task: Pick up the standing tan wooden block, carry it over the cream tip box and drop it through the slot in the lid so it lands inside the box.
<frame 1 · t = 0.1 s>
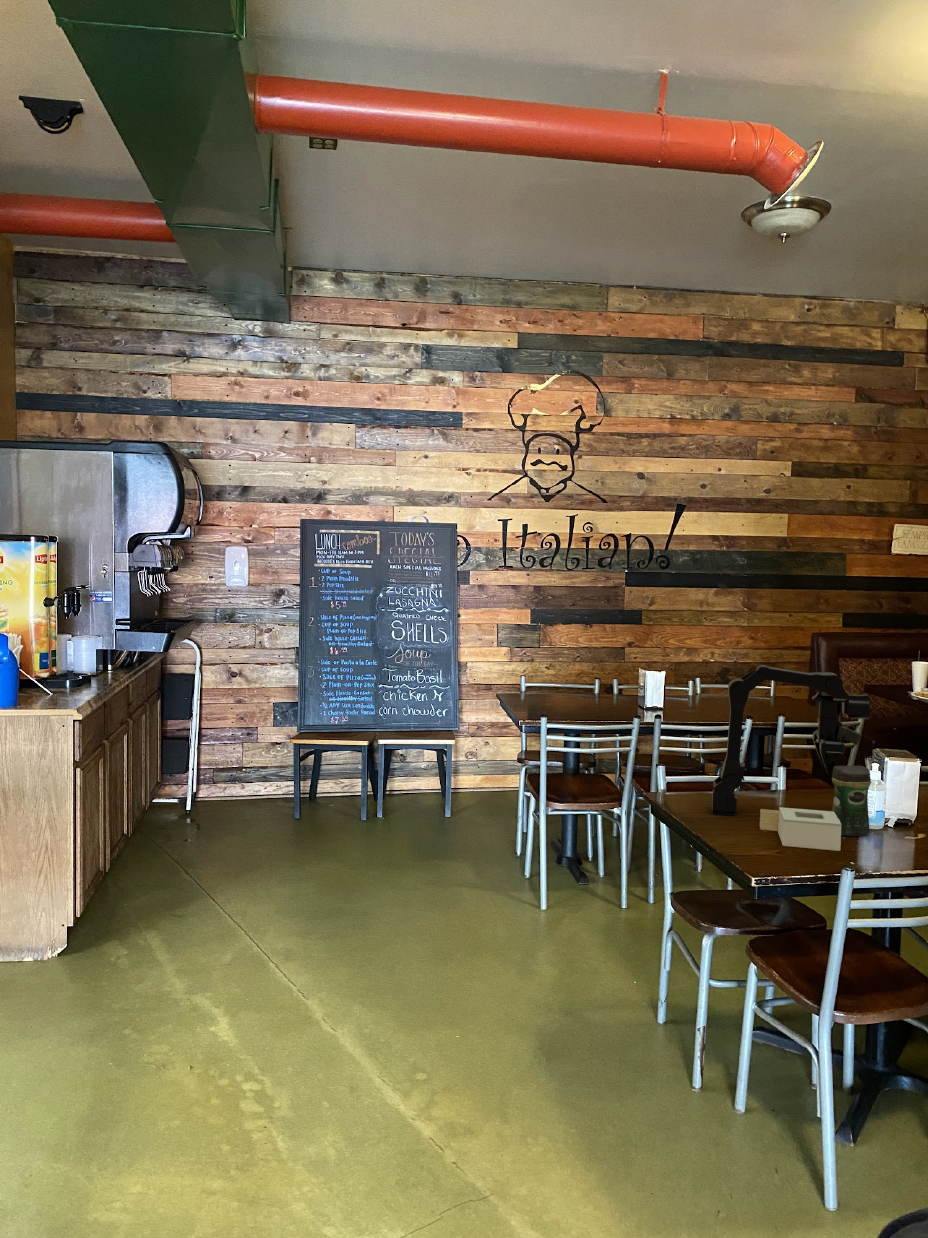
hand: (827, 770, 250), 15 cm above the table, fingers open, 9 cm apart
coffee jar: (848, 833, 240), on the table
tip box: (808, 841, 232), on the table
tan wooden block: (769, 829, 243), on the table
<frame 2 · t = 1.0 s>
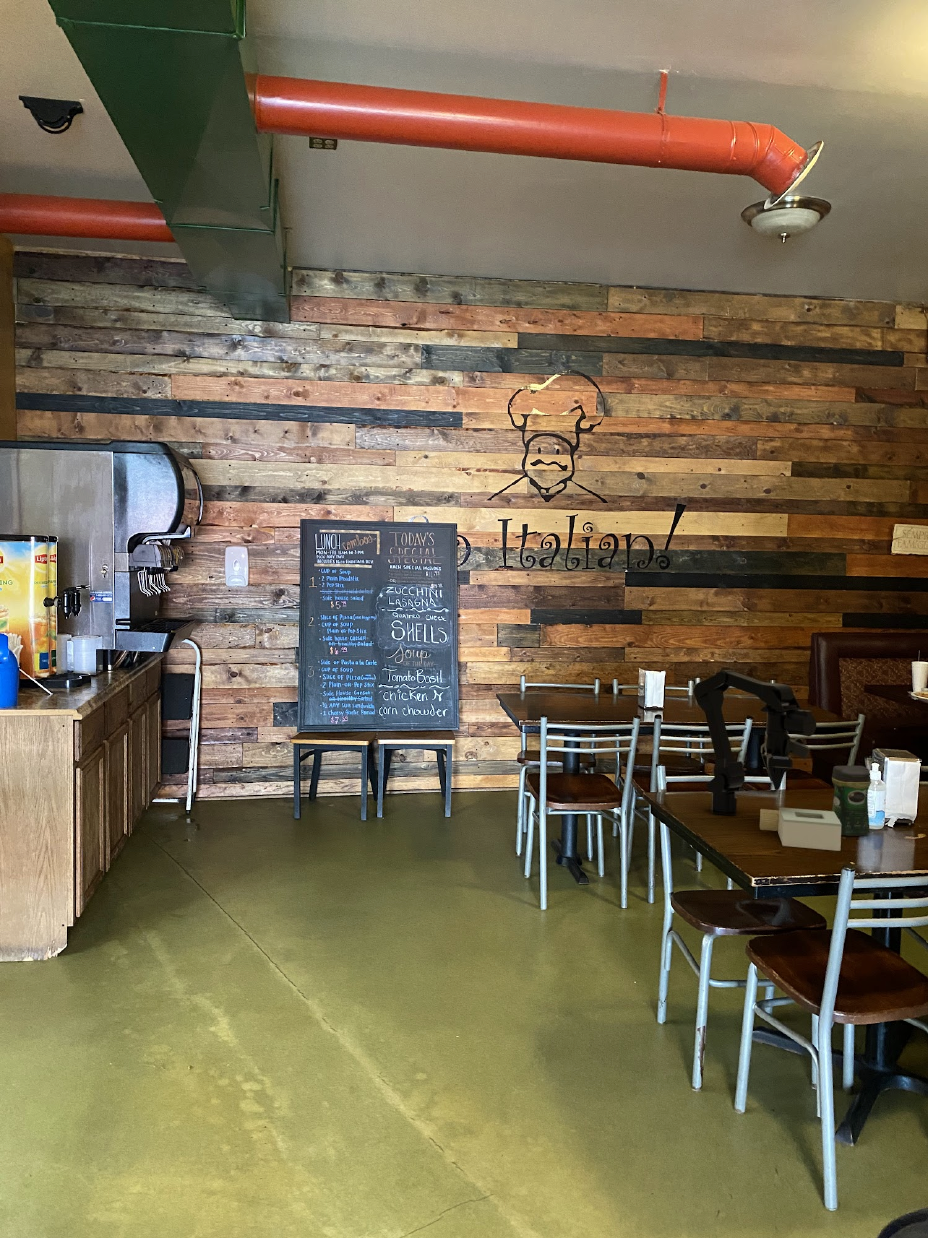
hand: (774, 785, 243), 12 cm above the table, fingers open, 9 cm apart
nothing on the table moved.
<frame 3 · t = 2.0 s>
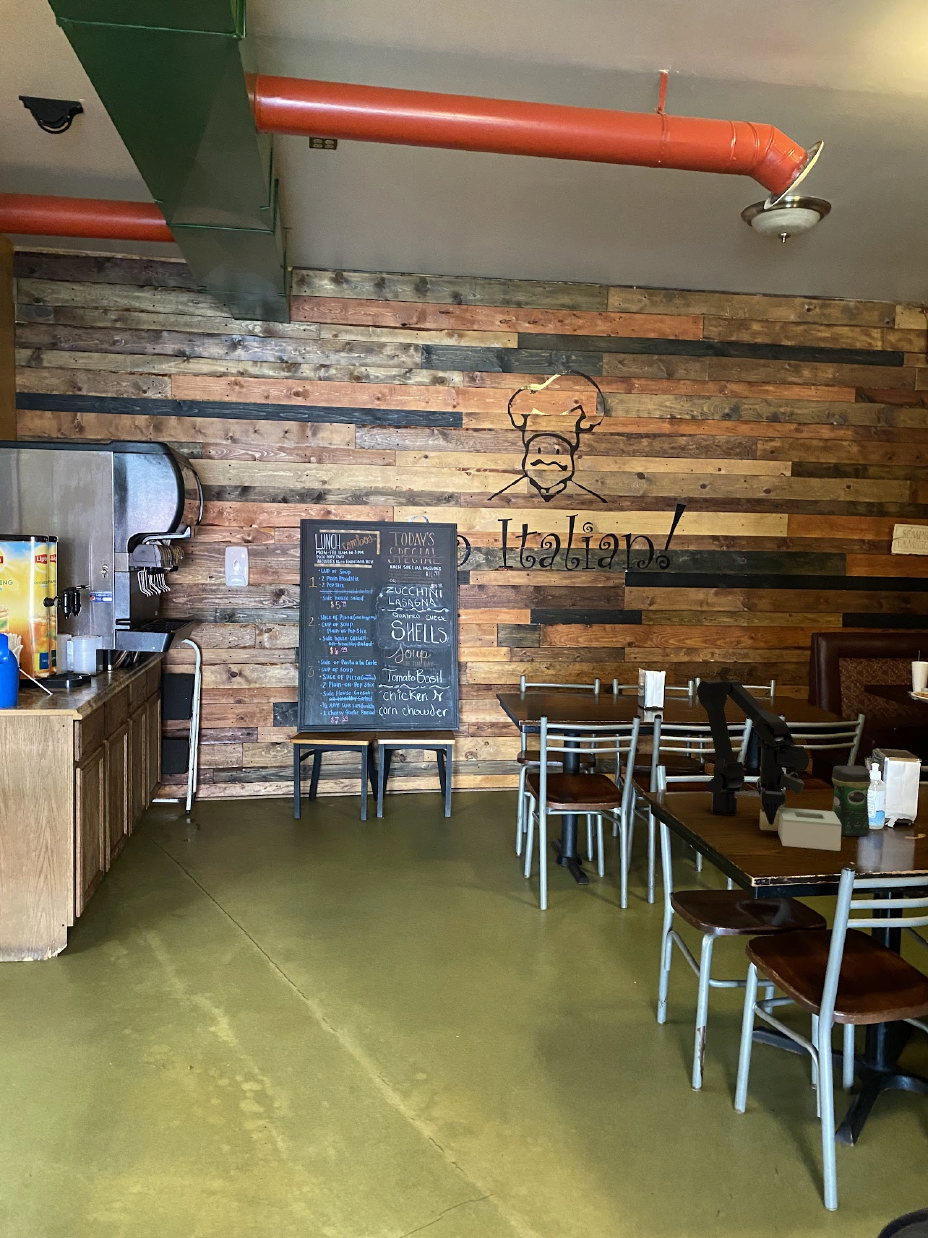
hand: (769, 820, 242), 2 cm above the table, fingers open, 8 cm apart
nothing on the table moved.
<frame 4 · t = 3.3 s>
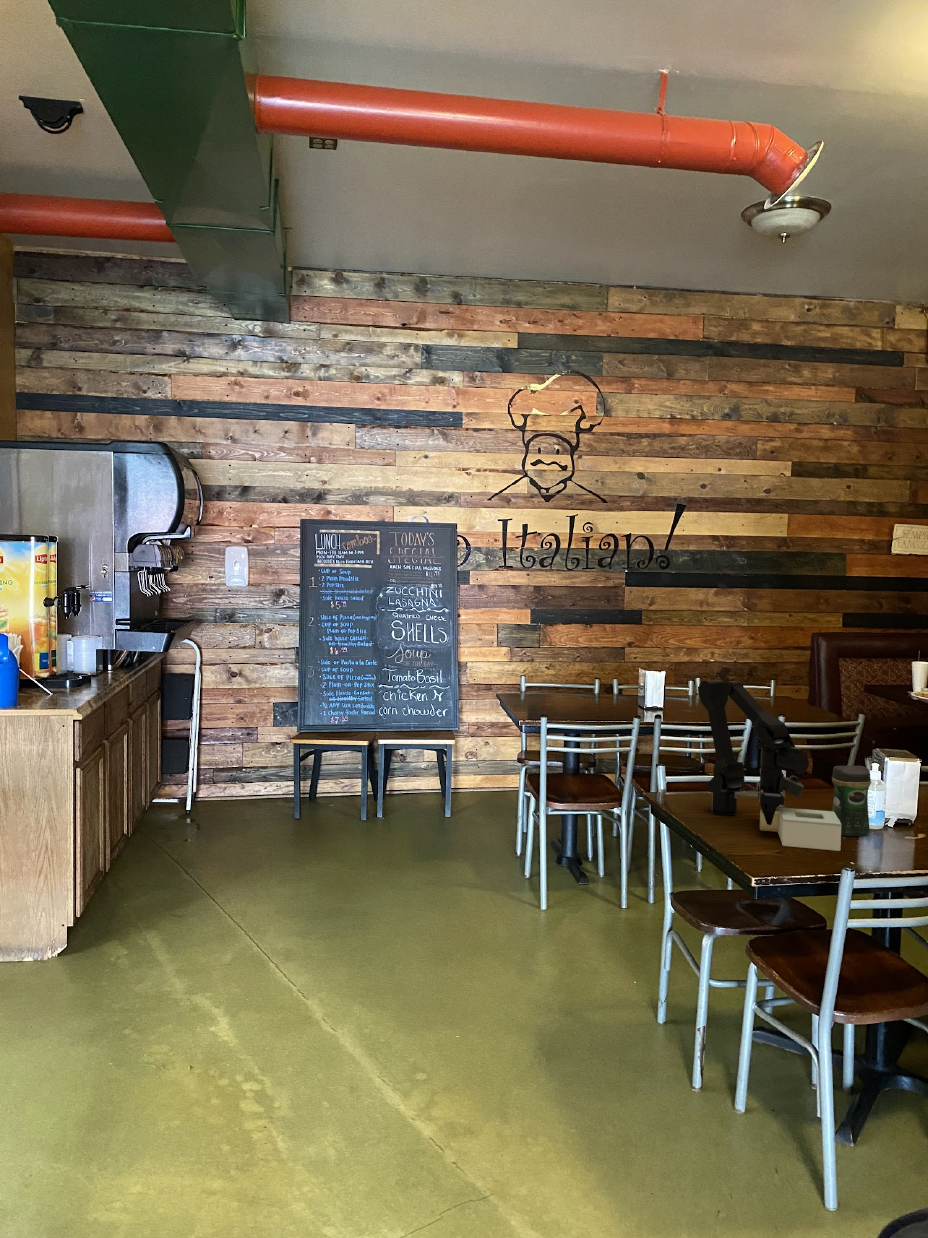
hand: (768, 823, 242), 2 cm above the table, fingers open, 3 cm apart
tan wooden block: (769, 829, 241), on the table, touching gripper
everything else where it was.
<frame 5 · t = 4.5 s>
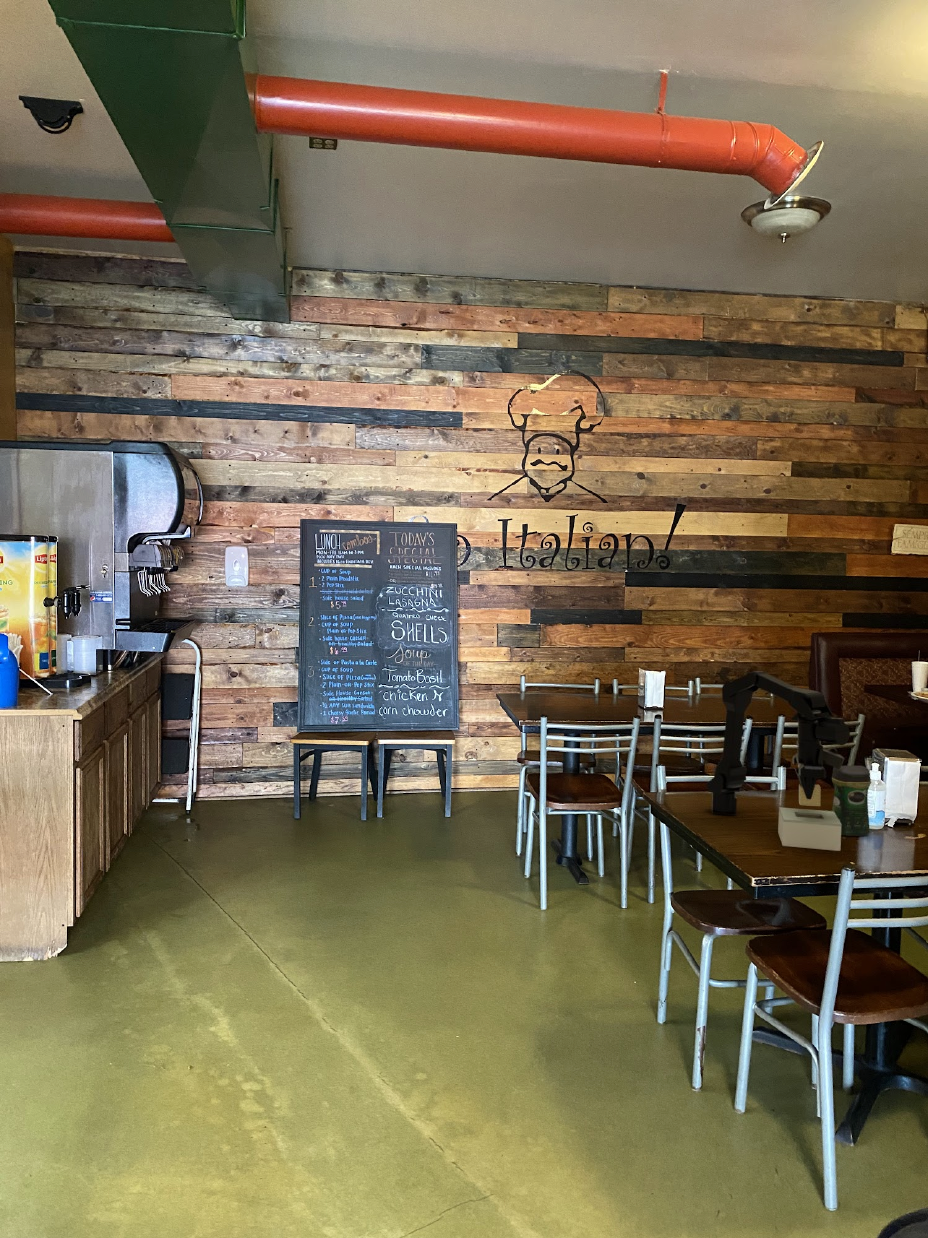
hand: (808, 797, 231), 12 cm above the table, fingers closed on tan wooden block, 3 cm apart
tan wooden block: (809, 804, 232), point 10 cm above the table, touching gripper
everything else where it was.
when the fingers open (9 cm above the table, at t = 5.1 s): tan wooden block drops 6 cm and tips over, resting on tip box.
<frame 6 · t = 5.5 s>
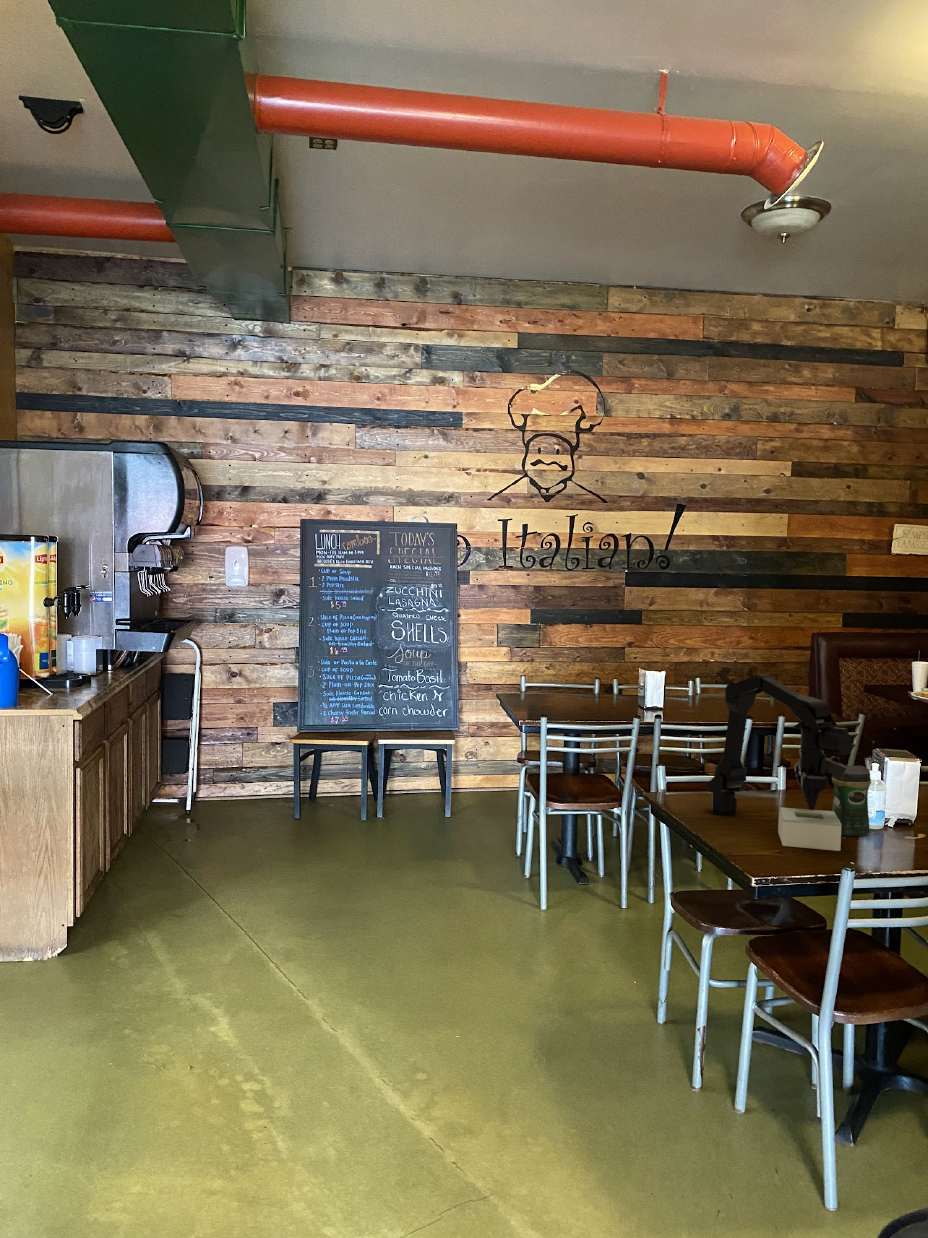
hand: (809, 806, 231), 9 cm above the table, fingers open, 7 cm apart
tan wooden block: (810, 836, 231), point 2 cm above the table, tilted 44°, touching tip box
everything else where it was.
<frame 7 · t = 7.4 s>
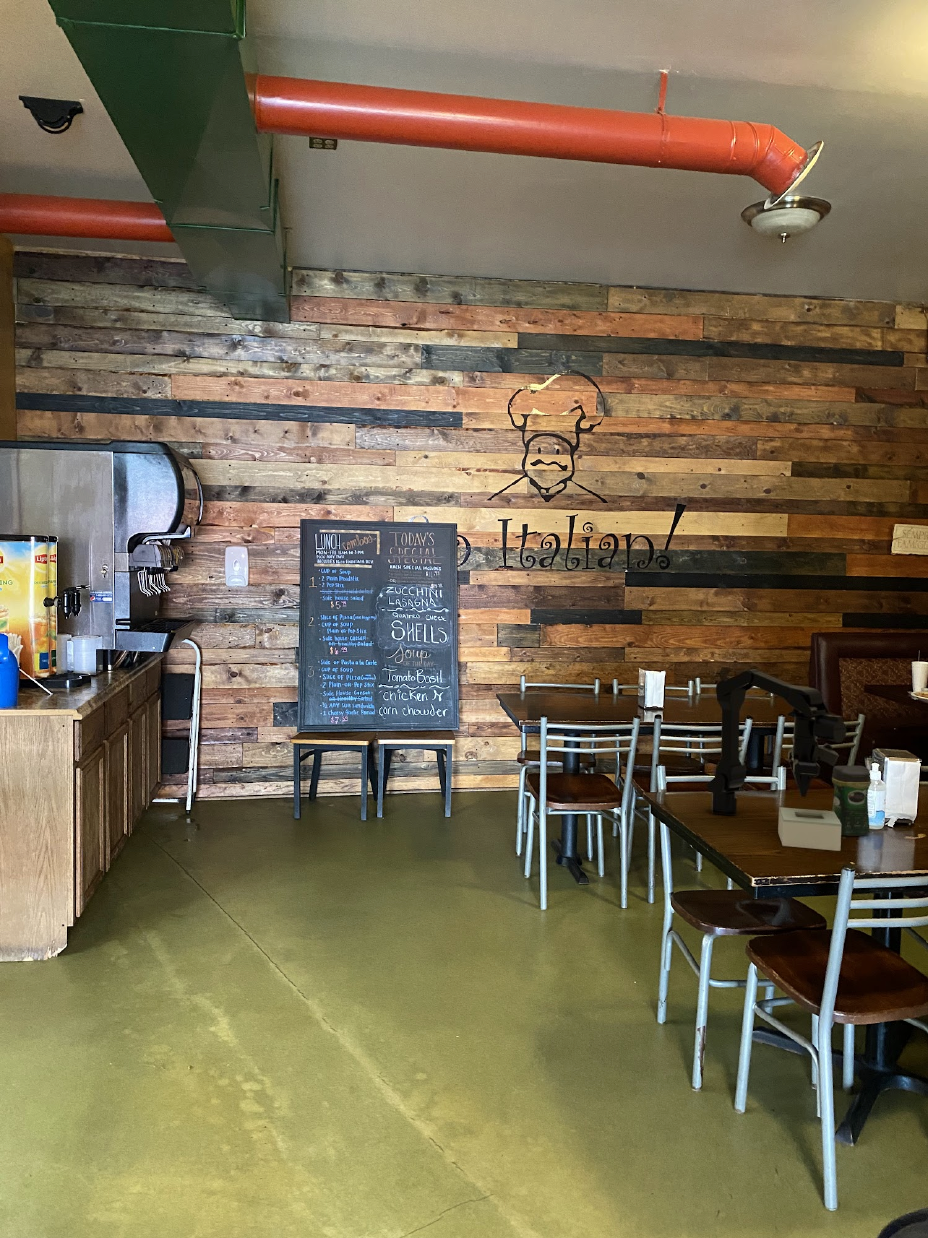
hand: (801, 792, 236), 12 cm above the table, fingers open, 9 cm apart
nothing on the table moved.
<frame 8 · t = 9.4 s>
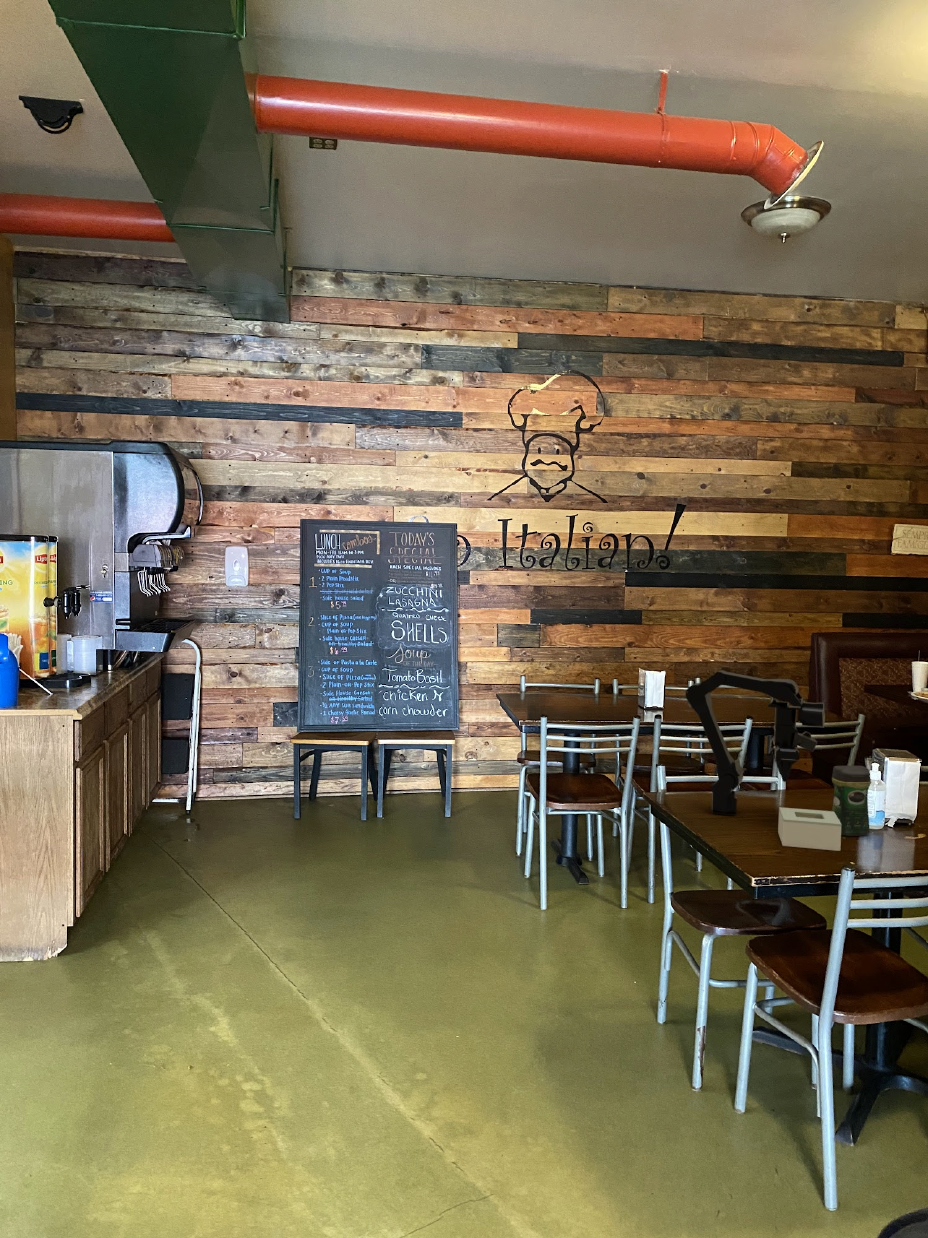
hand: (783, 778, 250), 13 cm above the table, fingers open, 9 cm apart
nothing on the table moved.
at the end: tan wooden block inside the target area on the tip box (0.9 cm from its centre), point 1.5 cm above the tip box's base; the gripper is holding nothing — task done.
